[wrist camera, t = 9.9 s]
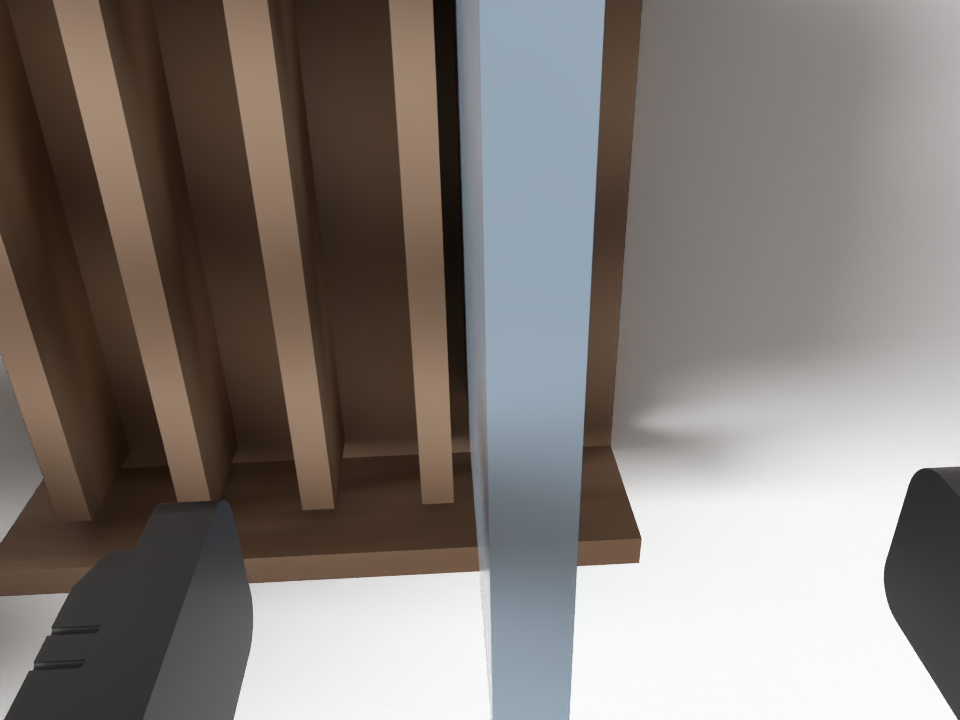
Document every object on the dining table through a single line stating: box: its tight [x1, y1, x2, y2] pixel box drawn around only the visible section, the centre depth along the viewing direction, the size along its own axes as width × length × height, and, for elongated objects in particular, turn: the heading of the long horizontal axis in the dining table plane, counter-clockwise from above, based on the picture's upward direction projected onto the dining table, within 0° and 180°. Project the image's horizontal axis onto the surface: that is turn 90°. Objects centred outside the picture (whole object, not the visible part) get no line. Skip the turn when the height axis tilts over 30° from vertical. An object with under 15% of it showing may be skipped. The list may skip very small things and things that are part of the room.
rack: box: [0, 0, 642, 596], centre depth 19 cm, size 16×16×5 cm
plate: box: [453, 0, 605, 720], centre depth 15 cm, size 12×1×11 cm, turn 1°
